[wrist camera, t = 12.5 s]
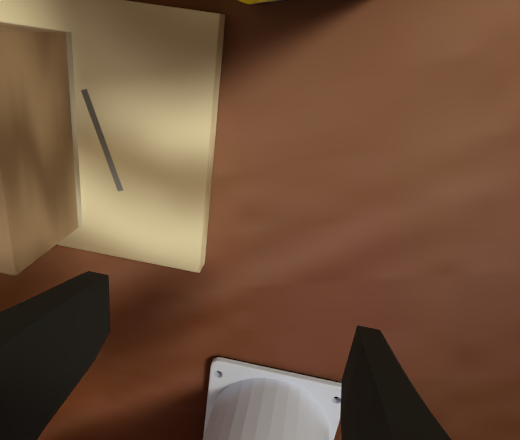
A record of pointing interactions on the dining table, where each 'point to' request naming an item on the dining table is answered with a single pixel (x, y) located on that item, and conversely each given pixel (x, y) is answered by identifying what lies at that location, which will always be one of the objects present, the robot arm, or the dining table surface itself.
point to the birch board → (140, 123)
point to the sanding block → (36, 144)
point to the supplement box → (258, 1)
